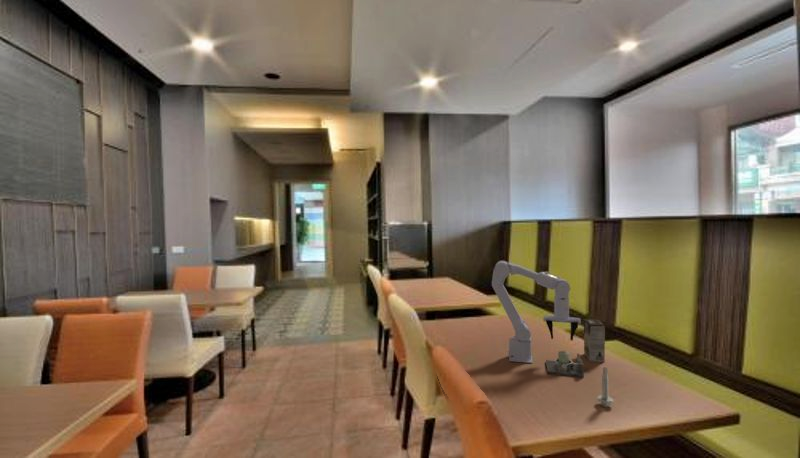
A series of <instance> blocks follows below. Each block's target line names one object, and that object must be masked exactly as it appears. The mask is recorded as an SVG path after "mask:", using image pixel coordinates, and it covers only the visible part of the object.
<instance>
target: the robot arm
mask: <svg viewBox="0 0 800 458" xmlns="http://www.w3.org/2000/svg"><path fill="white" fill-rule="evenodd" d="M492 271H493V273H492V277H491V278H492V279H491V287H492V288H493V291H494V292H495V294H496V296H497V298H498V301H499V302H500V303H501V305H502V308H503V309H504V311H505V313H506V315H507V316H508V319H509V320H510V322H511V325H512V327H513V330H514V336H513V337H512V338H511V337H510V338H509V337H508V357H509V358H508V359H509V361H510V362H517V363H526V364H533V356H532V338H531V331H530V326H529V324H528V323H527V322H526V321H525V320H523V318H522V316H521V315H520V313H519V310H518V309H517V308H516V306H515V304H514V302H513V300H512V298H511V296H510V294H509V292H508V290H507V289H506V287H505V286H504V283H505V281H506V279H507V277H508V276H509V275H511V276H514V275H520V276H523V277H526V278H529V279H531V280H534V281H535V282H536V284H537V285H538V286H539V285H540V286H541V287H545V288H546V289H550V290H554V297H553V298H554V301H553V302H554V304H553V307H554V309H553V311H554V313H553V314H554V315H543V316H542V318H543V322H545V324H546V326H547V328H548V330H549V334H550V338H551V339H552V340H554V334H553V331H554V329H553V327H554V325H553V323H554V322H555V323H556V322H557V323H565V324H566V323H569V324H570V336H569V337H570V341H573V340H574V336H575V333H576V331H577V329H578V327H579V325H581V323H582V321H581V318H579V317H572V316H570V297H569V295H570V290H571V286H570V283H568V281H567V280H566V279H564V278H563V277H560V276H558V275H557V276H555V275H552V274H549V271H540V272H537V271H534V270H531V269H530V268H526V267H524V266H522V265H520V264H516V263H514V262H509V261H506V260H499V261H497V262H496V263H495V266H494V267H493V269H492Z"/></svg>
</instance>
